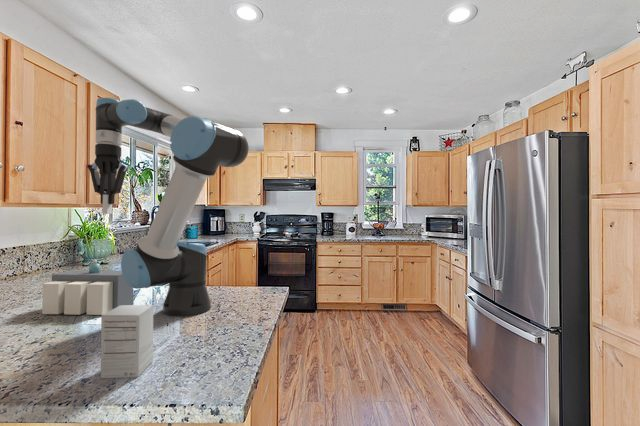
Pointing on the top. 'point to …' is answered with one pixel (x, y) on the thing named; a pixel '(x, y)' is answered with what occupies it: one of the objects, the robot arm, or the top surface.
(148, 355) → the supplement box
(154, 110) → the robot arm
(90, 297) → the knob
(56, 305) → the knob
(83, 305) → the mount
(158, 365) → the top surface
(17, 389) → the top surface
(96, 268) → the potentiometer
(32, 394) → the top surface
